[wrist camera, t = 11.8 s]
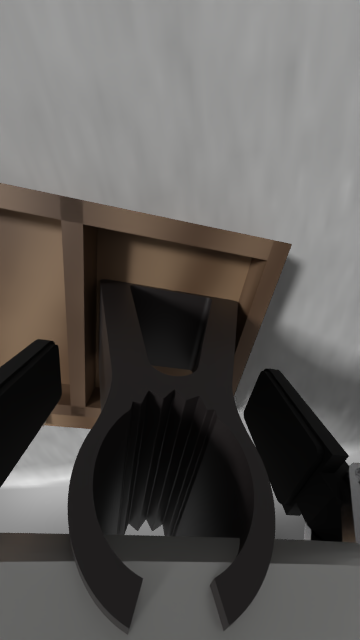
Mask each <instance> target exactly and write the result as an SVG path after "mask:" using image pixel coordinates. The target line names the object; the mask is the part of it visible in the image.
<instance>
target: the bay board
mask: <svg viewBox="0 0 360 640" xmlns="http://www.w3.org/2000/svg"><path fill="white" fill-rule="evenodd" d="M291 245H292V244H289V243H284V242H279V241H274V240H270V239H265V238H260V237H255V236H251V235H246V234H241V233H236V232H231V231H227V230H222V229H217V228H212V227H208V226H203V225H198V224H193V223H188V222H184V221H179V220H174V219H169V218H165V217H160V216H155V215H150V214H146V213H141V212H136V211H131V210H126V209H122V208H117V207H112V206H107V205H103V204H98V203H93V202H88V201H84V200H79V199H74V198H69V197H64V196H60V195H55V194H50V193H45V192H41V191H36V190H31V189H26V188H22V187H17V186H12V185H7V184H2V183H0V367H1V366H2V365H4V364H5V363H6V362H8V361H9V360H10V359H11V358H13V357H14V356H15V355H17V354H18V353H19V352H21V351H22V350H23V349H25V348H26V347H27V346H28V345H30V344H31V343H32V342H34V341H35V340H37V339H43V340H51V341H54V342H55V345H58V347H59V357H60V371H61V384H62V396H61V398H60V400H59V402H58V403H57V405H56V406H55V408H54V409H53V411H52V412H51V414H50V415H49V417H48V418H47V420H46V421H45V423H44V424H43V426H44V425H49V426H61V427H74V428H86V429H92V427H93V426H94V424H95V422H96V421H97V419H98V417H99V415H100V413H101V402H100V380H99V316H100V280H101V279H109V280H115V281H121V282H127V283H133V284H139V285H145V286H151V287H157V288H163V289H169V290H171V291H181V292H187V293H193V294H199V295H205V296H211V297H217V298H223V299H229V300H234V301H236V302H238V312H237V325H236V339H235V353H234V366H233V380H232V389H233V396H234V394H235V392H236V389H237V387H238V384H239V381H240V379H241V376H242V374H243V371H244V368H245V366H246V363H247V360H248V358H249V355H250V353H251V350H252V347H253V345H254V342H255V340H256V337H257V334H258V332H259V329H260V326H261V324H262V321H263V319H264V316H265V313H266V311H267V308H268V305H269V303H270V300H271V298H272V295H273V292H274V290H275V287H276V285H277V282H278V279H279V277H280V274H281V271H282V269H283V266H284V264H285V261H286V258H287V256H288V253H289V251H290V248H291ZM153 367H154V368H155V369H156V370H158V371H160V372H162V373H164V374H167V375H172V376H186V375H190V374H192V373H193V372H192V371H190V370H186V369H177V368H169V367H161V366H153ZM43 426H42V427H43Z"/></svg>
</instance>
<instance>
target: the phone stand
mask: <svg viewBox="0 0 360 640" xmlns="http://www.w3.org/2000/svg"><path fill="white" fill-rule="evenodd" d="M237 312H238V302H236V301H234V300H229V299H223V298H217V297H211V296H205V295H199V294H193V293H187V292H181V291H171V290H169V289H163V288H157V287H151V286H145V285H139V284H133V283H127V282H121V281H115V280H109V279H101V280H100V316H99V380H100V402H101V413H100V415H99V417H98V419H97V421H96V422H95V424H94V426H93V427H92V429H91V430H90V432H89V434H88V435H87V437H86V438H85V440H84V442H83V444H82V446H81V448H80V450H79V453H78V455H77V458H76V461H75V464H74V467H73V470H72V475H71V479H70V485H69V493H68V524H69V535H70V545H71V550H72V554H73V557H74V560H75V563H76V566H77V569H78V572H79V575H80V577H81V579H82V582H83V584H84V586H85V588H86V590H87V591H88V593H89V595H90V597H91V598H92V600H93V601H94V603H95V604H96V605H97V607H98V608H99V609H100V611H101V612H102V613H103V614H104V615H105V616H106V617H107V618H108V619H109V620H110V621H111V622H112V623H113V624H114V625H115V626H116V627H117V628H119V629H120V630H121V631H123V632H124V633H126V634H127V635H128V632H129V629H130V625H131V622H132V618H133V614H134V611H135V607H136V603H137V600H138V596H139V592H140V589H141V585H142V581H143V578H142V577H140V576H138V575H137V574H135V573H134V572H133V571H131V570H130V569H129V568H128V567H127V566H126V565H125V564H124V563H123V562H122V561H121V560H120V559H119V558H118V557H117V555H116V554H115V553H114V552H113V550H112V549H111V547H110V546H109V544H108V542H107V540H106V539H105V537H104V535H124V534H125V531H126V529H127V526H128V524H130V525H131V526H132V527H134V528H135V529H136V530H137V531H138V530H139V528H140V527H141V525H142V524H143V523H144V521H145V520H147V521H148V524H149V526H150V528H151V530H152V531H154V530H155V529H156V528H158V527H159V526H161V525H163V529H164V535H165V536H181V537H221V538H240V545H239V550H238V554H237V556H236V558H235V560H234V561H233V562H232V564H231V565H230V566H229V567H228V568H227V569H226V570H225V571H223V572H222V573H221V574H220V575H218V576H217V577H215V578H214V579H213V581H212V583H211V584H210V588H211V591H212V594H213V598H214V601H215V604H216V608H217V611H218V614H219V618H220V621H221V624H222V627H223V631H225V630H226V629H227V628H228V627H230V626H231V625H232V624H233V623H234V622H235V621H236V620H237V619H238V618H239V617H240V616H241V615H242V614H243V613H244V611H245V610H246V609H247V608H248V606H249V605H250V604H251V603H252V601H253V599H254V598H255V596H256V595H257V593H258V591H259V589H260V588H261V586H262V583H263V581H264V579H265V577H266V574H267V571H268V568H269V565H270V561H271V557H272V552H273V547H274V539H275V508H274V500H273V494H272V489H271V485H270V481H269V478H268V474H267V472H266V469H265V466H264V464H263V461H262V459H261V457H260V455H259V453H258V451H257V449H256V447H255V445H254V444H253V442H252V440H251V438H250V437H249V435H248V433H247V431H246V429H245V427H244V425H243V423H242V421H241V418H240V416H239V413H238V411H237V408H236V404H235V401H234V396H233V389H232V380H233V366H234V353H235V339H236V325H237ZM153 366H161V367H169V368H177V369H186V370H190V371H192V372H193V373H192V374H190V375H186V376H172V375H167V374H164V373H162V372H160V371H158V370H156V369H155V368H154V367H153Z"/></svg>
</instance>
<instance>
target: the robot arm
mask: <svg viewBox="0 0 360 640" xmlns="http://www.w3.org/2000/svg"><path fill="white" fill-rule="evenodd" d="M61 396H62V384H61V371H60V357H59V347H58V345H55V342H54V341H51V340H43V339H37V340H35V341H34V342H32V343H31V344H30V345H28V346H27V347H26V348H25V349H23V350H22V351H21V352H19V353H18V354H17V355H15V356H14V357H13V358H11V359H10V360H9V361H8V362H6V363H5V364H4V365H2V366H1V367H0V487H1V486H2V484H3V483H4V481H5V480H6V478H7V477H8V476H9V474H10V473H11V471H12V470H13V468H14V467H15V465H16V464H17V462H18V461H19V459H20V458H21V456H22V455H23V453H24V452H25V451H26V449H27V448H28V446H29V445H30V443H31V442H32V440H33V439H34V437H35V436H36V434H37V433H38V431H39V430H40V428H41V427H42V426H43V424H44V423H45V421H46V420H47V418H48V417H49V415H50V414H51V412H52V411H53V409H54V408H55V406H56V405H57V403H58V402H59V400H60V398H61ZM244 419H245V421H246V424H247V426H248V429H249V431H250V434H251V436H252V439H253V441H254V444H255V446H256V449H257V451H258V453H259V455H260V457H261V459H262V461H263V464H264V466H265V469H266V472H267V474H268V478H269V481H270V483H271V486H272V488H273V491H274V493H275V496H276V498H277V500H278V502H279V503H281V504H282V505H283V508H284V510H285V513H286V515H299V516H300V515H301V514H302V515H303V518H304V520H305V533H304V540H286V539H284V540H283V539H274V547H273V552H272V557H271V561H270V565H269V568H268V571H267V574H266V577H265V579H264V581H263V583H262V586H261V588H260V589H259V591H258V593H257V595H256V596H255V598H254V599H253V601H252V603H251V604H250V605H249V606H248V608H247V609H246V610H245V611H244V613H243V614H242V615H241V616H240V617H239V618H238V619H237V620H236V621H235V622H234V623H233V624H232V625H231V626H230V627H228V628H227V629H226V630H225V631H223V627H222V624H221V621H220V618H219V614H218V611H217V608H216V604H215V601H214V598H213V594H212V591H211V588H210V584H211V583H212V581H213V579H214V578H215V577H217V576H218V575H220V574H221V573H222V572H223V571H225V570H226V569H227V568H228V567H229V566H230V565H231V564H232V562H233V561H234V560H235V558H236V556H237V554H238V550H239V545H240V538H221V537H181V536H139V535H137V536H135V535H104V537H105V539H106V540H107V542H108V544H109V546H110V547H111V549H112V550H113V552H114V553H115V554H116V555H117V557H118V558H119V559H120V560H121V561H122V562H123V563H124V564H125V565H126V566H127V567H128V568H129V569H130V570H131V571H133V572H134V573H135V574H137V575H138V576H140V577H142V578H143V581H142V585H141V589H140V592H139V596H138V600H137V603H136V607H135V611H134V614H133V618H132V622H131V625H130V629H129V632H128V635H127V634H126V633H124V632H123V631H121V630H120V629H119V628H117V627H116V626H115V625H114V624H113V623H112V622H111V621H110V620H109V619H108V618H107V617H106V616H105V615H104V614H103V613H102V612H101V611H100V609H99V608H98V607H97V605H96V604H95V603H94V601H93V600H92V598H91V597H90V595H89V593H88V591H87V590H86V588H85V586H84V584H83V582H82V579H81V577H80V575H79V572H78V569H77V566H76V563H75V560H74V557H73V554H72V550H71V545H70V535H69V534H36V533H0V640H360V463H352V464H351V465H350V466H349V465H348V464H347V463H346V462H345V460H346V459H347V458H348V454H347V453H346V452H345V451H344V449H343V448H342V447H341V446H340V444H339V443H338V442H337V441H336V440H335V438H334V437H333V436H332V435H331V433H330V432H329V431H328V430H327V428H326V427H325V426H324V425H323V423H322V422H321V421H320V420H319V419H318V417H317V416H316V415H315V414H314V412H313V411H312V410H311V409H310V407H309V406H308V405H307V404H306V403H305V401H304V400H303V399H302V398H301V396H300V395H299V394H298V393H297V391H296V390H295V389H294V388H293V386H292V385H291V384H290V383H289V382H288V380H287V379H286V378H285V377H284V375H283V374H282V373H281V372H280V371H279V370H275V369H265V370H264V371H262V372H261V373H260V375H259V377H258V379H257V382H256V384H255V386H254V389H253V391H252V394H251V396H250V398H249V401H248V403H247V405H246V408H245V410H244Z"/></svg>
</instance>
